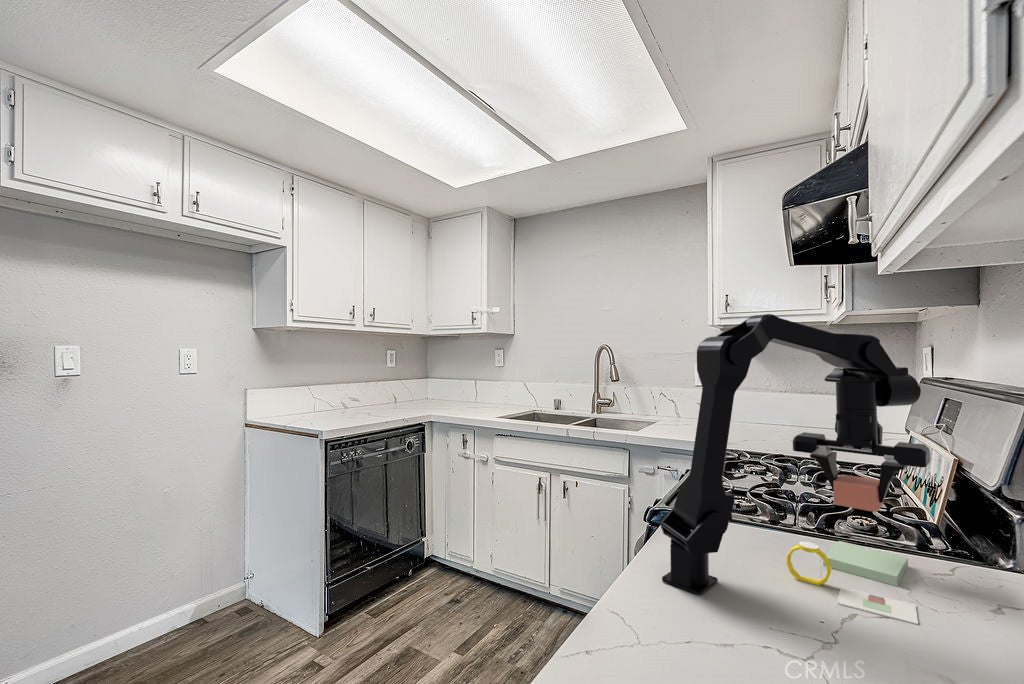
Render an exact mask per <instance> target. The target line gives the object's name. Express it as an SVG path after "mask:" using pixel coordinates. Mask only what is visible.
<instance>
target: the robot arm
mask: <svg viewBox="0 0 1024 684" xmlns="http://www.w3.org/2000/svg"><path fill="white" fill-rule="evenodd" d="M769 343H774V344H777V345H780V346H785V347H789V348H792V349H796V350H799V351H803V352H807V353H811V354H814V355H816V356H817V357H819V358H820V359H821V360H822V361H823V362H826V363H827V364H829V365H831V366H834V367H835V368H833V370H832V372H830V373H829V374H828V375H826V376H825V377H824V381H825V382H829V383H835V401H836V405H835V406H836V407H835V408H836V410H835V411H836V413H835V424H834V432H835V433H836V434H837V435H836V440H835V439H827V438H826V436H825V433H823V434H822V433H814V432H813V433H812V432H804V431H803V432H802V433H799V434H797V435H795V436H794V437H793V440H792V451H794V452H797V453H798V452H799V453H807V454H809V457H810V458H811V459H815V460H816V461H817V463H818V465H819V466H820V468H821V469H822V471H823V472H824V474H825V477H826V479H827V481H828V483H829V485H830V487H831V489H832V491H833V492H834V486H833V481H834V480H835V479H837V478H838V477H839V474H838V467H837V458H838V457H837V453H838V452H842V453H850V454H857V455H858V454H860V455H867V456H876V457H881V458H882V457H883V459H884V461H883V462H882V463H881V464H880V472H879V480H880V483H879V502H880V503H883V502H884V501H885V498H886V496H887V494H888V491H889V488H890V486H891V482H892V480H893V478H894V477H895V474H896V473H897V471H905V469H906V468H907V467H908V466H909V467H916V468H927V467H928V465H929V464H930V463H931V451H930V450H931V449H930V448H929V447H928V446H927V445H926V444H924V443H923V444H922V443H912V442H904V441H903V442H901V441H899V442H897V443H896V444H895V445H892V446H891V445H883V429H884V427H883V426H882V425H881V423H879V421H878V411H877V410H878V408H879V407H881V408H882V407H899V406H911V405H913V404H915V403H917V401H918V400H919V399H920V396H921V392H922V390H921V386H920V385H919V382H918V381H917V380H916V378H914V377H913V376H912V375H910V374H909V367H905V366H902V367H901V366H896V365H895V364H894V363H893V360H892V359H891V358H890V356H889V354H888V353H887V351H886V350H885V349H884V347H883V345H882V344H881V341H880V339H879V338H878V337H877V336H874V335H871V334H860V333H859V334H856V333H834V332H831V331H827V330H823V329H820V328H817V327H813V326H810V325H805V324H802V323H799V322H795V321H792V320H788V319H784V318H781V317H779V316H777V315H775V314H772V313H766V314H757V315H756V314H755V315H751V316H750V317H749V318H747V319H745V320H743V321H742V322H740V323H739V324H738V325H735V326H733V327H730V328H729V329H726V330H724V331H722V332H721V333H719V334H718V335H716V336H709V337H706V338H704V339H703V340H702V341H701V342H699V344H698V346H697V349H696V371H697V375H698V378H699V381H700V384H701V388H702V391H701V397H700V404H699V410H698V416H697V417H698V418H697V425H696V430H695V437H694V445H693V451H692V458H691V464H690V465H691V466H690V471H689V474H688V476H687V477H686V478H685V480H684V481H683V482H682V483H681V485H680V487H679V489H678V491H677V495H676V499H675V501H674V504H673V507H672V508H671V509H670V511H669V512H668V513H666V515H665V516H664V517H663V518H662V520H660V522H659V525H660V529H661V531H662V534H663V535H664V536H667V537H668V538H670V546H669V547H670V571H669V572H667V573H666V574H665V575H663V576H661V581H662V582H664V583H667V584H669V585H672V586H675V587H678V588H680V589H683V590H685V591H687V592H689V593H693V594H696V595H702V594H703V593H705V592H706V591H707V590H709V589H710V588H712V586H714V585H715V584H717V583H718V580H719V579H718V577H716V576H713V575H710V571H709V570H710V569H709V565H710V564H709V563H710V562H709V556H710V554H712V553H713V554H714V553H718V552H719V549H720V546H721V542H722V539H723V537H724V534H725V533H726V532H727V530H728V527H729V523H733V517H732V516H733V508H734V505H735V496H734V495H733V494H731V493H729V492H727V491H726V490H725V489H726V488H725V487H724V484H723V476H724V468H725V463H726V455H727V448H728V442H729V436H730V435H729V434H730V428H731V427H730V426H731V420H732V413H733V406H734V400H735V395H736V391H738V390H739V388H740V386H741V385H742V383H743V382H744V381H745V379H746V378H747V376H748V373H749V368H750V366H751V363H752V360H753V359H754V358H755V357H756V356H758V355H759V354H761V353H763V352H764V351H765V349H766V348H767V346H768V344H769Z"/></svg>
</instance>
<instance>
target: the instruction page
mask: <svg viewBox="0 0 1024 684" xmlns="http://www.w3.org/2000/svg"><path fill="white" fill-rule="evenodd" d="M837 604H838V605H841V606H845V607H847V608H848V607H849V608H853V609H856V610H860V611H865V612H869V613H873V614H874V615H875V614H876V615H879V616H883V617H887V618H891V619H895V620H899V621H902V622H906V623H910V624H914V625H918V626H919V621H918V612H917V606H916V604H914V603H911V602H907V601H902V600H899V599H893V598H890V597H885V596H881V595H878V594H873V593H869V592H865V591H860V590H857V589H856V590H855V589H852V588H847V587H844V586H840V587H839V593H838V600H837Z"/></svg>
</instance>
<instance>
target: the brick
mask: <svg viewBox="0 0 1024 684" xmlns="http://www.w3.org/2000/svg"><path fill="white" fill-rule="evenodd" d="M879 483H880V479H875V478H870V477H869V478H868V477H861V476H855V475H850V474H849V475H848V474H840V475H838V478H837V479H835V480H834V481H833V486H834V491H833V505H835V506H840V507H841V506H842V507H846V508H851V509H855V510H856V509H858V510H861V511H867V512H874V513H878V511H879V510H880V509H881V508H882V506H883V505H884V503H885V502H884V501H883V503H880V502H879Z"/></svg>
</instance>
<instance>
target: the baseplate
mask: <svg viewBox="0 0 1024 684" xmlns="http://www.w3.org/2000/svg"><path fill="white" fill-rule="evenodd" d="M824 554H825V555H826V556H827V558H828V560H829V561H830V563H831V569H835V570H837V571H842V572H845V573H848V574H852V575H856V576H860V577H863V578H866V579H868V580H869V579H870V580H873V581H877V582H880V583H884V584H888V585H891V586H894V587H898V586H899V583H900V581H901V579H902V578H903V576H904V574H905V573H906V571H907V570H908V566H909V557H907V556H904V555H899V554H894V553H890V552H887V551H882V550H878V549H874V548H871V547H867V546H862V545H858V544H854V543H849V542H846V541H841V540H838V541H837V542H836V543H835V544H834V545H833V546H832V547H831V548H830V549H829V550H828V551H827V552H826V553H824ZM822 561H823V560H822ZM822 566H824V567H827V566H826V564H825V562H824V561H823V563H822Z"/></svg>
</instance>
